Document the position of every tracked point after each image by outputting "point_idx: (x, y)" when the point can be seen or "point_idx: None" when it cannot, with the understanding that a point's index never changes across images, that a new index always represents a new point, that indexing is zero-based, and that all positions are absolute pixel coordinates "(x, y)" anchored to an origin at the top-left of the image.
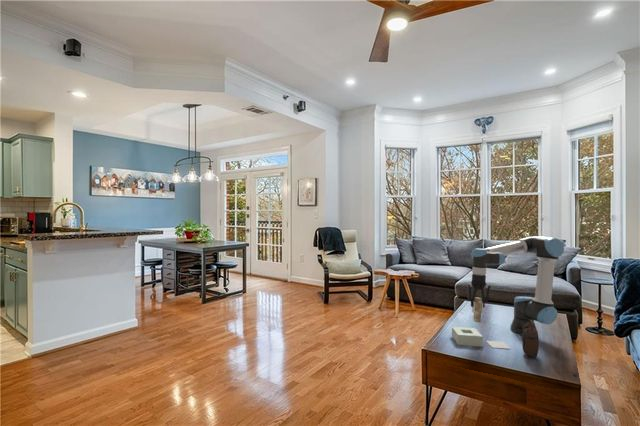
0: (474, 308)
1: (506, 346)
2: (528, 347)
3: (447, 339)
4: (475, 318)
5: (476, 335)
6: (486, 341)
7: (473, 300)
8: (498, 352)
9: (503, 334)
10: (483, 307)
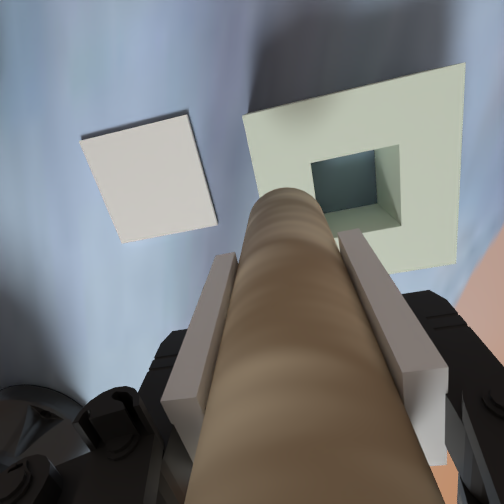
0: (365, 267)
1: (102, 170)
2: None
3: (472, 159)
4: (313, 206)
5: (292, 120)
6: (215, 217)
7: (501, 423)
8: (149, 36)
9: (125, 359)
10: (184, 331)
